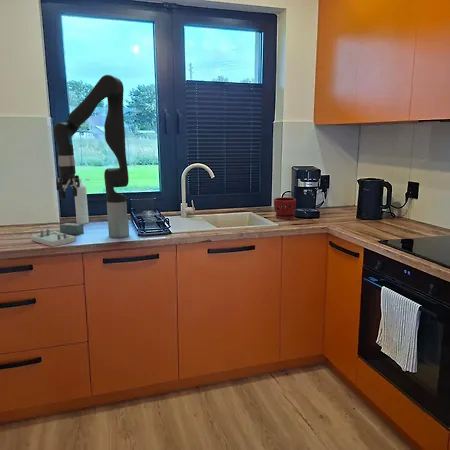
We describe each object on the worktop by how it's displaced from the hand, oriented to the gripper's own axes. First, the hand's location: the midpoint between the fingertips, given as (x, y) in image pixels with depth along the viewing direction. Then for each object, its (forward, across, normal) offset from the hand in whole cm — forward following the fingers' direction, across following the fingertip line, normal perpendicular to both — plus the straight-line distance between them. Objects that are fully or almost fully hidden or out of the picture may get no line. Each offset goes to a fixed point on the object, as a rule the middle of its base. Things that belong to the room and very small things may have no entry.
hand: (69, 197), depth 205 cm
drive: (+19, 0, 0) cm, 19 cm away
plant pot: (+18, -73, +95) cm, 121 cm away
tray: (+18, +15, +2) cm, 24 cm away
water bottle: (+19, -24, -10) cm, 32 cm away
